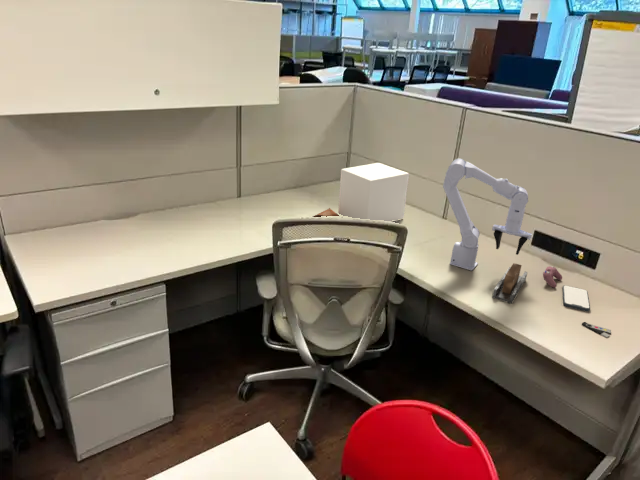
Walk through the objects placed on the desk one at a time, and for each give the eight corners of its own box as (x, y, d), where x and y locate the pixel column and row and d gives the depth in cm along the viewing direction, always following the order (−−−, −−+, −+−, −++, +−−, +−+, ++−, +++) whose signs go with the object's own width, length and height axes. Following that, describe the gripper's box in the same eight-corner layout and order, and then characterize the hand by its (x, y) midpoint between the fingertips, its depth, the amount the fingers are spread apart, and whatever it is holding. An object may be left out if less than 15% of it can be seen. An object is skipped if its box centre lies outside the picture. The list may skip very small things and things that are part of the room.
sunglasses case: (323, 227, 231) (318, 214, 230) (312, 231, 235) (307, 218, 234) (342, 216, 245) (337, 204, 244) (332, 220, 249) (326, 208, 248)
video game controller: (551, 280, 196) (547, 263, 195) (563, 279, 193) (559, 262, 192) (544, 289, 189) (539, 272, 188) (556, 288, 186) (551, 271, 185)
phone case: (561, 288, 188) (562, 307, 175) (562, 284, 188) (563, 303, 174) (586, 293, 185) (589, 313, 172) (587, 289, 185) (591, 309, 171)
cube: (374, 207, 261) (378, 162, 251) (403, 220, 245) (409, 173, 235) (338, 216, 247) (341, 169, 237) (366, 230, 231) (370, 180, 221)
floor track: (492, 297, 178) (494, 289, 177) (507, 274, 195) (509, 267, 194) (511, 303, 175) (514, 295, 173) (525, 280, 192) (527, 272, 190)
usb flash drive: (580, 325, 164) (581, 323, 164) (589, 321, 167) (590, 318, 167) (605, 339, 158) (606, 336, 157) (614, 334, 160) (615, 332, 160)
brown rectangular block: (501, 291, 180) (505, 274, 177) (509, 279, 190) (513, 262, 187) (510, 294, 179) (514, 277, 176) (517, 281, 188) (521, 265, 185)
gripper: (492, 217, 188) (486, 249, 194) (531, 227, 181) (523, 259, 187) (497, 212, 194) (491, 243, 199) (536, 221, 186) (528, 253, 192)
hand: (507, 251), depth 193 cm, fingers open, 7 cm apart
